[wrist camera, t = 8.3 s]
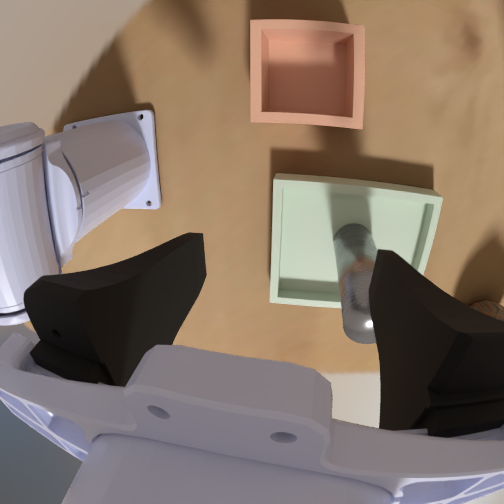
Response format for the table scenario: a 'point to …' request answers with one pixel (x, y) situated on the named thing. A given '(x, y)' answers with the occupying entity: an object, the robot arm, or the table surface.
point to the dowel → (355, 279)
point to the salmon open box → (307, 72)
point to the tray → (331, 220)
